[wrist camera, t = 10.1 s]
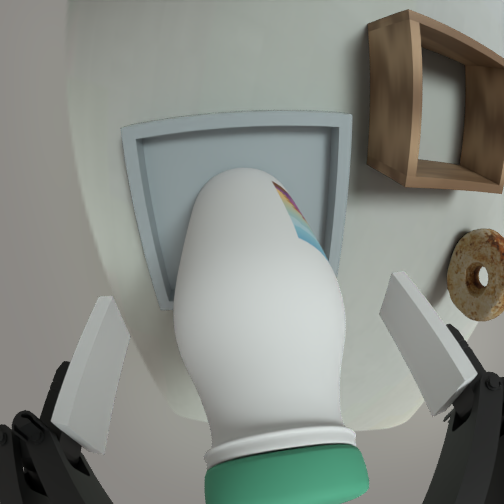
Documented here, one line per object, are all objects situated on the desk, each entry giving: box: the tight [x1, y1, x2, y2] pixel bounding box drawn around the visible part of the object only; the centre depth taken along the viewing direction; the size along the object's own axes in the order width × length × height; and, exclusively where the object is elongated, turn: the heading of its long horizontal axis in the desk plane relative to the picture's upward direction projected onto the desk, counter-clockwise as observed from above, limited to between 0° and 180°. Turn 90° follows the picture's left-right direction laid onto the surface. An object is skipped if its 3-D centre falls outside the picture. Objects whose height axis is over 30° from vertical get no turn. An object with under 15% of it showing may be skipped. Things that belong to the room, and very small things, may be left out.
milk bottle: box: [173, 168, 369, 504], centre depth 13 cm, size 8×8×20 cm
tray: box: [121, 110, 352, 310], centre depth 22 cm, size 16×16×2 cm
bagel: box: [447, 229, 504, 321], centre depth 23 cm, size 10×4×10 cm, turn 176°
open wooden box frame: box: [367, 9, 504, 194], centre depth 16 cm, size 13×13×6 cm
